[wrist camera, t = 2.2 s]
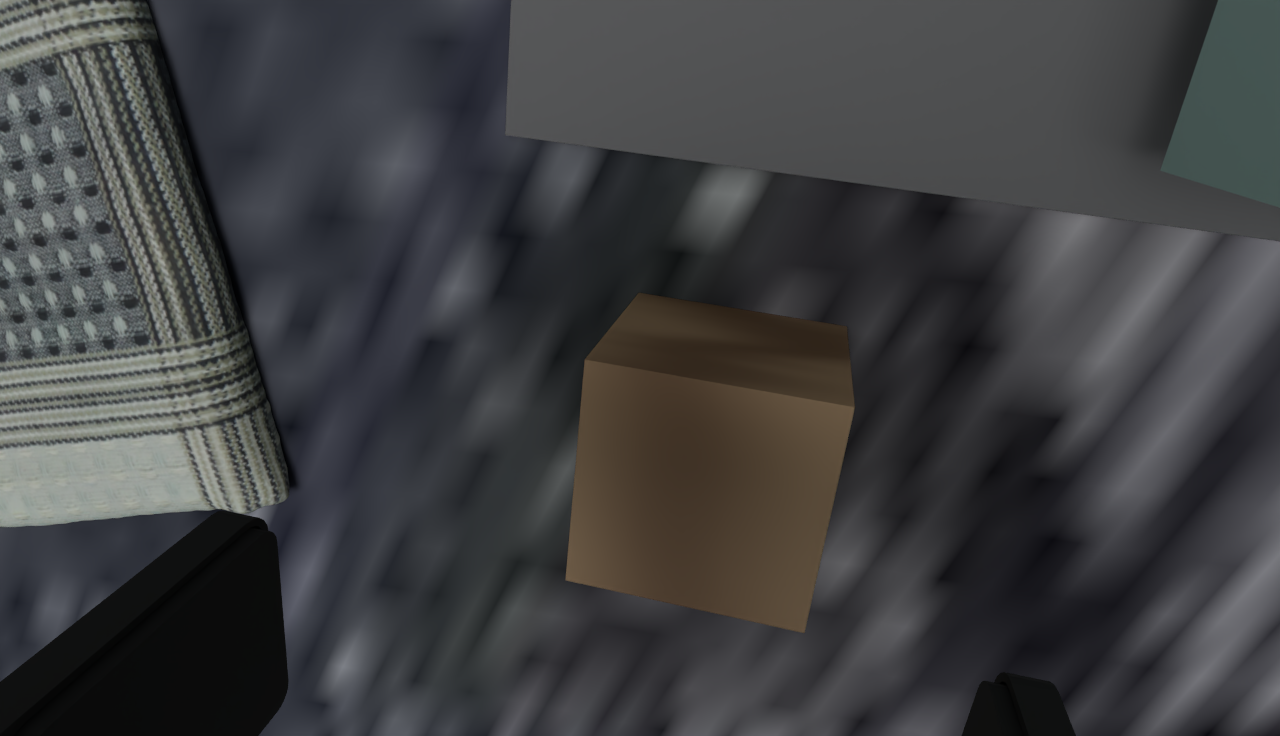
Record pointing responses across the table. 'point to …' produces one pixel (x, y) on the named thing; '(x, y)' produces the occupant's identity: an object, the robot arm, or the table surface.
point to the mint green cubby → (1233, 105)
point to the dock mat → (888, 95)
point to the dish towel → (114, 287)
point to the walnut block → (710, 458)
